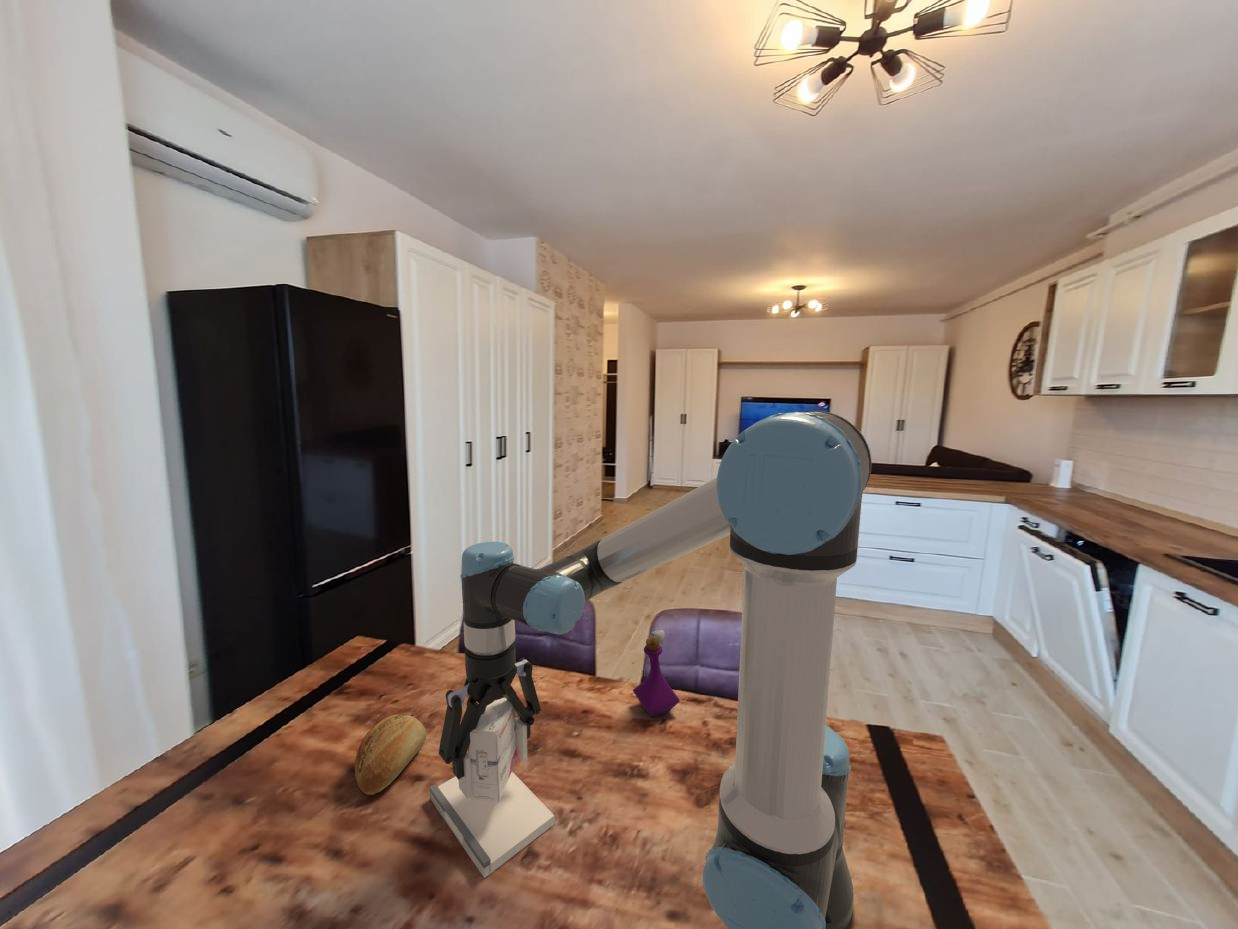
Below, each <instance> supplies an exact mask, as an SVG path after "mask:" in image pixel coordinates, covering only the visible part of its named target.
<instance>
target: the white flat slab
mask: <svg viewBox="0 0 1238 929" xmlns="http://www.w3.org/2000/svg"><path fill="white" fill-rule="evenodd" d="M429 799H430V801H431V802H432V804H433V805H434V807H435V808H436V810H437V811H438V813H439V815H440V816H441V817H442V819H443V820H444V823H446V824H447V825H446V826H448V828H449V829H450V830H451V832H452V833H453V834H454V836H455V838H456V839H457V840H458V842H459V843H460V845H461V847H462V848H463V850H464V851H465V852H466V854H467V855H468V856H469V858H470V859H471V861H472V862H473V863H474V866H476V868H477V870H478V871H479V873H480V875H481V876H482V877H483V878H484V879H486V878H487V877H489V875H491V874H492V873H493V872H495V871H496V870H497V869H498V868H499V867H501V866H502V865H503V864H505V863H506V862H507V861H509V860H510V859H511V858H513V857H514V856H516V855H517V854H518V853H519V852H521V851H522V850H523V849H525V848H526V847H527V846H528V845H529V844H531V843H532V842H533V841H534V840H536V839H537V838H538V837H540V836H541V835H542V834H543V833H545V832H546V831H547V830H549V829H550V828H552V827H553V826H554V825H555V814H553V812H552V811H551V810H550V809H549V808H548V807H547V806H546V805H545V804H544V803H543V802H542V801H541V800H540V799H539V798H538V797H537V796H536V795H535V794H534V792H533V791H531V790H530V788H529V787H528V786H527V785H526V784H525V783H524V782H523V781H522V780H521V779H520V778H519V776H517V775H516V773H514V772H513V771H512V772H511V775H510V777H509V780H508V782H507V785H506V787H505V789H504V792H503V794H502V797H501V799H500V801H499V802H490V801H481V800H474V799H470V797H469V798H466V796H465V795H464V794H463V793H462V791H461V790H460V789H459V780H458V779H457V777H456V776H455V775H454V777H452V778H451V779H448V780H446V781H445V782H443V783H441V784H439V785H437V784H436V783H434V784H432V785H431V786H429Z"/></svg>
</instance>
